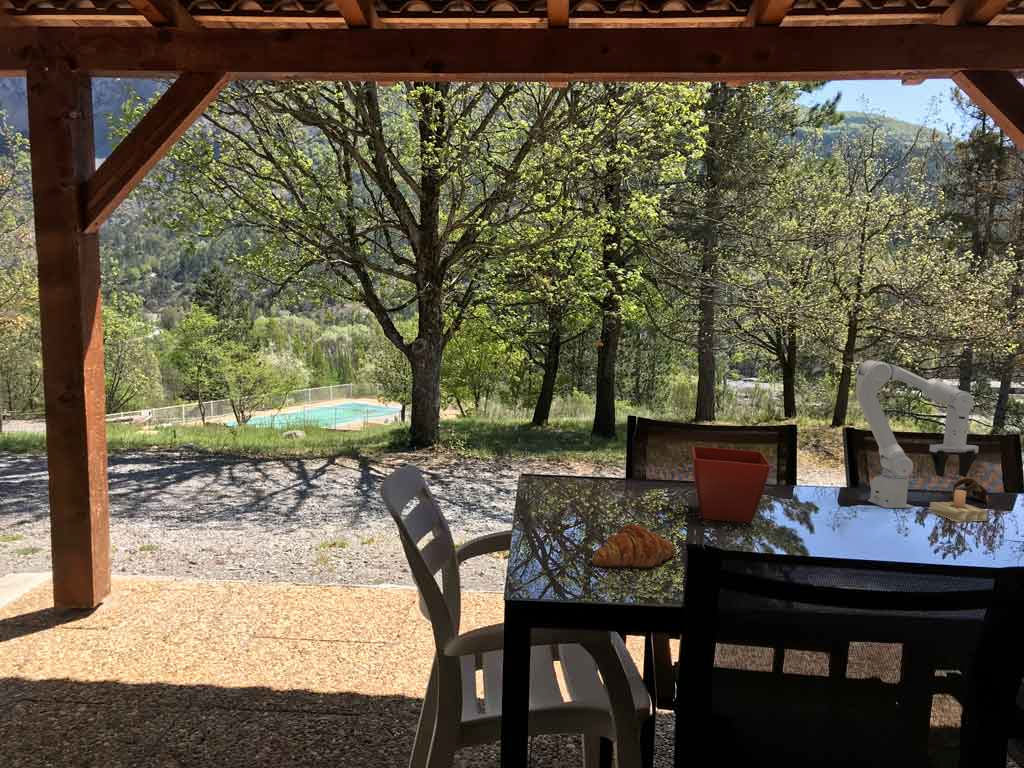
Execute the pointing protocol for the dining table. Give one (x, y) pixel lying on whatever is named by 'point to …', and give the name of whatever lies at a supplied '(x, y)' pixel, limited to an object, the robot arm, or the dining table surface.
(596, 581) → the dining table surface
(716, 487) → the plant pot
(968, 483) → the pottery mug
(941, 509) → the bore block
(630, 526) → the pastry
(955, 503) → the pin
